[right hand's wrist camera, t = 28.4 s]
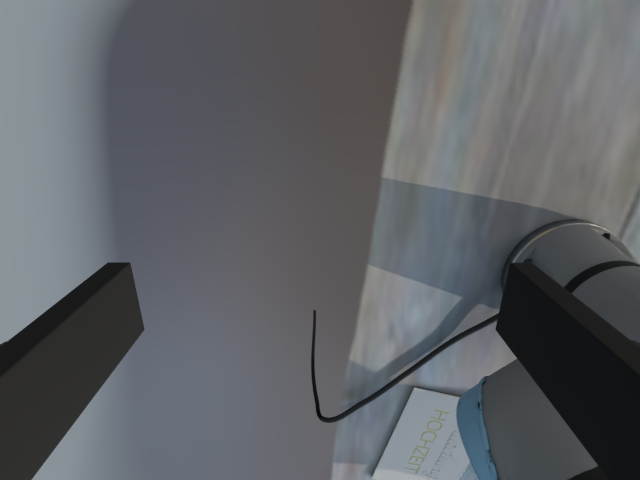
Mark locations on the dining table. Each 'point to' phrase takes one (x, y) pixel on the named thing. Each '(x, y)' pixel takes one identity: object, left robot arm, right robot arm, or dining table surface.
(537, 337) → the right robot arm
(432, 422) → the invitation card
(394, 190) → the dining table surface
